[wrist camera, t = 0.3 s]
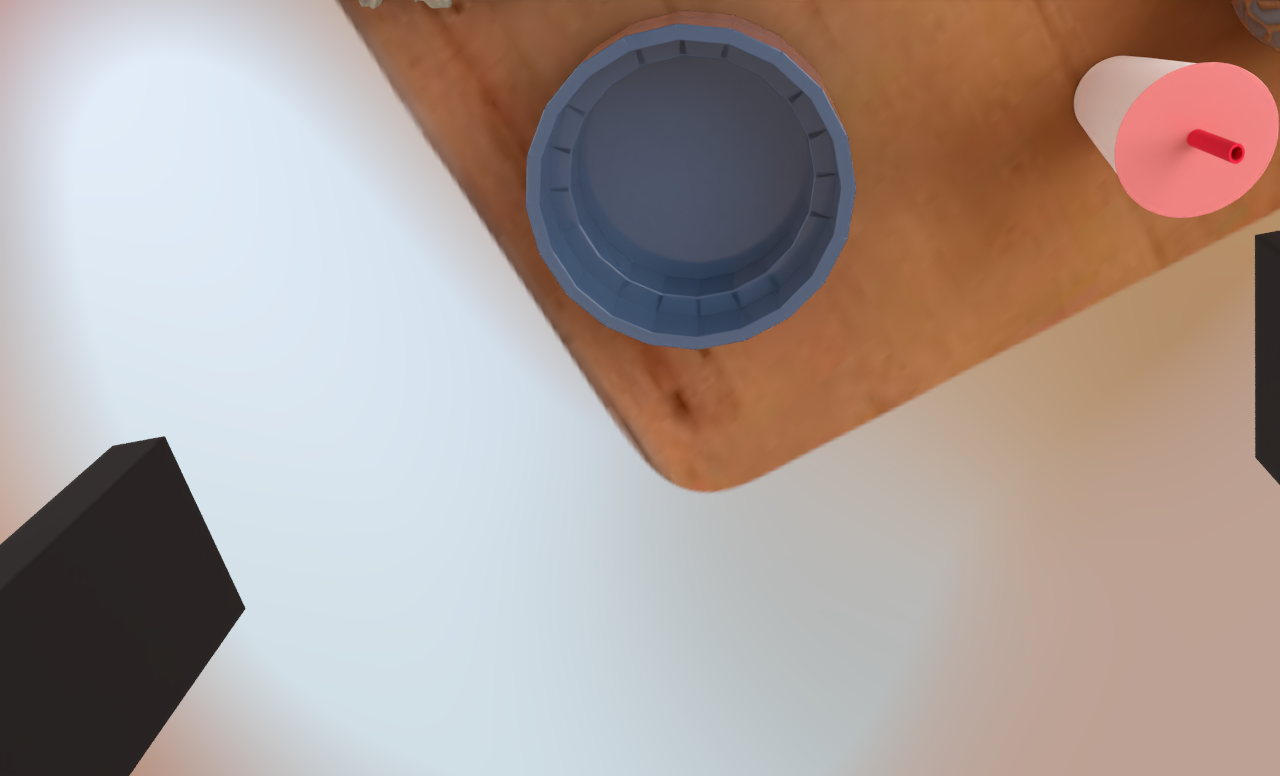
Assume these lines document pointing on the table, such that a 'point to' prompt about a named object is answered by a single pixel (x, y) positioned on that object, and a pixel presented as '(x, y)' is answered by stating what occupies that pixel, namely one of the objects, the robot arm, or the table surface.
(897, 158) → the table surface
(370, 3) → the grey rock
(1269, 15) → the vase
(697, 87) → the bowl
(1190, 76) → the cup
